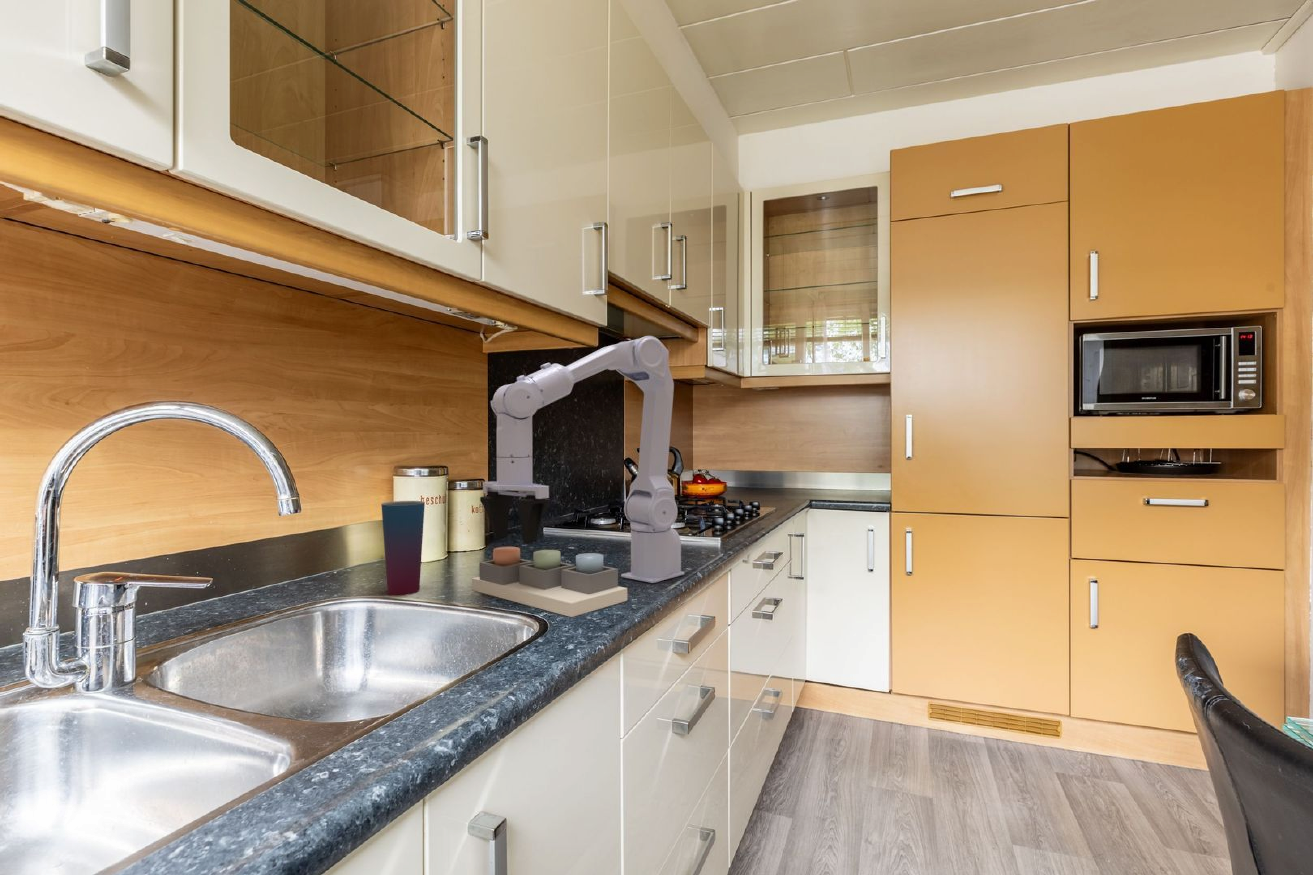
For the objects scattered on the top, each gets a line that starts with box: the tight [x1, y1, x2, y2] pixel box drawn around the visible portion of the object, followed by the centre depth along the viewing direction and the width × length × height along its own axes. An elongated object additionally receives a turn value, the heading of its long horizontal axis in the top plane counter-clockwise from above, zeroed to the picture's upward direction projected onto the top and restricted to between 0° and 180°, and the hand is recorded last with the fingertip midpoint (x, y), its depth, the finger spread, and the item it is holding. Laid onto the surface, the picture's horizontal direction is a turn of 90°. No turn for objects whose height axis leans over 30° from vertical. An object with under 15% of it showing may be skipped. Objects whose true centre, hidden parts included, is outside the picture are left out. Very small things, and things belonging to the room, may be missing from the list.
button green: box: [532, 549, 561, 570], centre depth 106 cm, size 4×4×2 cm
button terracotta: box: [492, 546, 521, 566], centre depth 109 cm, size 4×4×2 cm
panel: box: [471, 558, 628, 618], centre depth 106 cm, size 12×25×5 cm, turn 50°
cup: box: [381, 500, 426, 596], centre depth 109 cm, size 7×7×15 cm
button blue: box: [575, 552, 604, 574], centre depth 103 cm, size 4×4×2 cm
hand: (514, 540), depth 105 cm, fingers open, 7 cm apart
